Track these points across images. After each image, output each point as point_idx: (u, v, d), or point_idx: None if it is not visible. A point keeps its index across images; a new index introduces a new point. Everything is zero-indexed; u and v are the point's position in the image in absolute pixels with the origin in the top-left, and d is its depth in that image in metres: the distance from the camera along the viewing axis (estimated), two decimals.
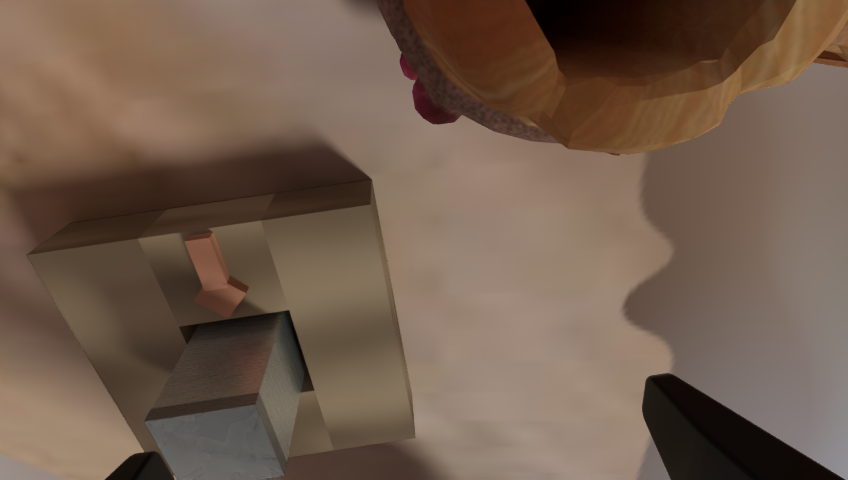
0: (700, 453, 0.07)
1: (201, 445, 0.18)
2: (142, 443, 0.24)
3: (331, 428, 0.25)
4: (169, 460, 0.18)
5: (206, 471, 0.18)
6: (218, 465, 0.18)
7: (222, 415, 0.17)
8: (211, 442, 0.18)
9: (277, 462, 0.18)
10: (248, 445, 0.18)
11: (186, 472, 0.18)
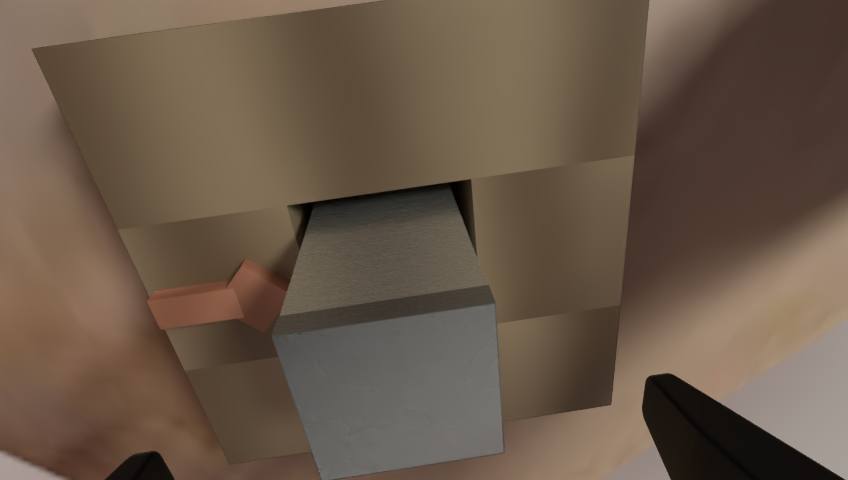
0: (700, 453, 0.07)
1: (384, 421, 0.10)
2: (538, 413, 0.17)
3: (573, 155, 0.13)
4: (418, 462, 0.10)
5: (456, 421, 0.10)
6: (441, 403, 0.09)
7: (304, 386, 0.09)
8: (377, 407, 0.09)
9: (450, 312, 0.08)
10: (391, 356, 0.09)
11: (453, 446, 0.10)
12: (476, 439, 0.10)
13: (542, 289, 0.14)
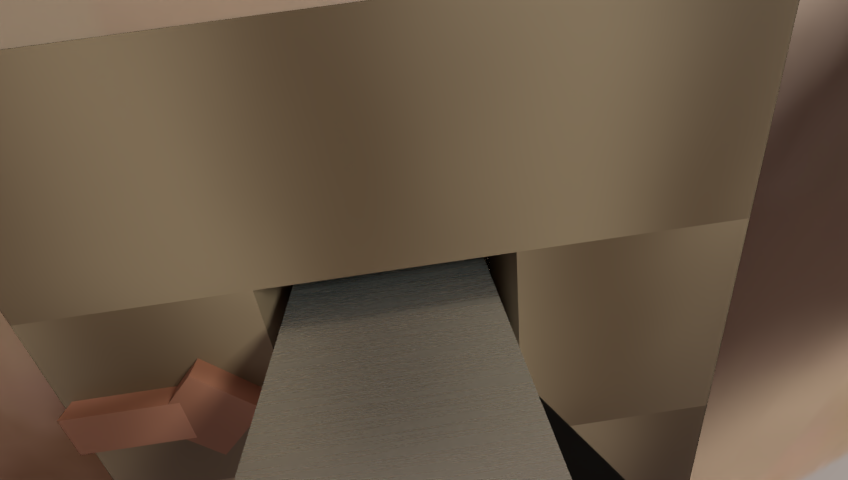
0: None
1: None
2: None
3: (663, 219, 0.09)
4: None
5: None
6: None
7: None
8: None
9: None
10: None
11: None
12: None
13: (605, 388, 0.11)
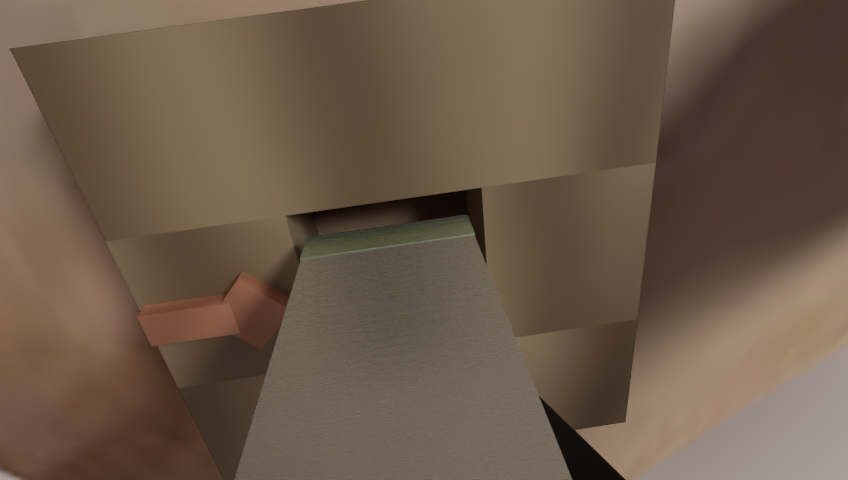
0: None
1: None
2: None
3: (591, 163, 0.12)
4: None
5: None
6: None
7: None
8: None
9: None
10: None
11: None
12: None
13: (555, 303, 0.14)
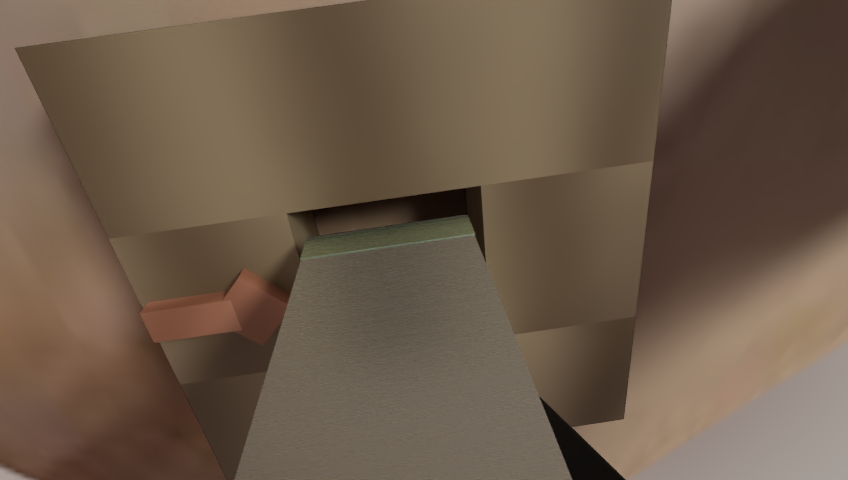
0: None
1: None
2: None
3: (589, 161, 0.12)
4: None
5: None
6: None
7: None
8: None
9: None
10: None
11: None
12: None
13: (554, 300, 0.14)
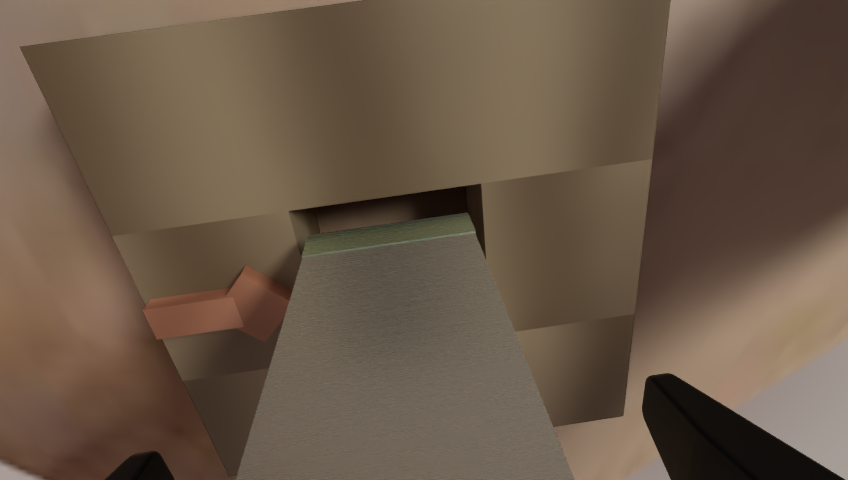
0: (700, 453, 0.07)
1: None
2: None
3: (588, 159, 0.12)
4: None
5: None
6: None
7: None
8: None
9: None
10: None
11: None
12: None
13: (554, 297, 0.14)
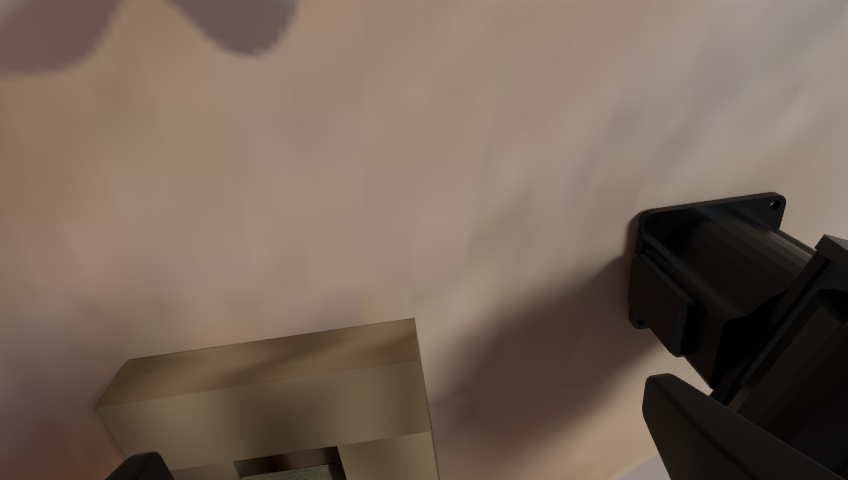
0: (700, 453, 0.07)
1: None
2: None
3: (394, 433, 0.22)
4: None
5: None
6: None
7: None
8: None
9: None
10: None
11: None
12: None
13: None
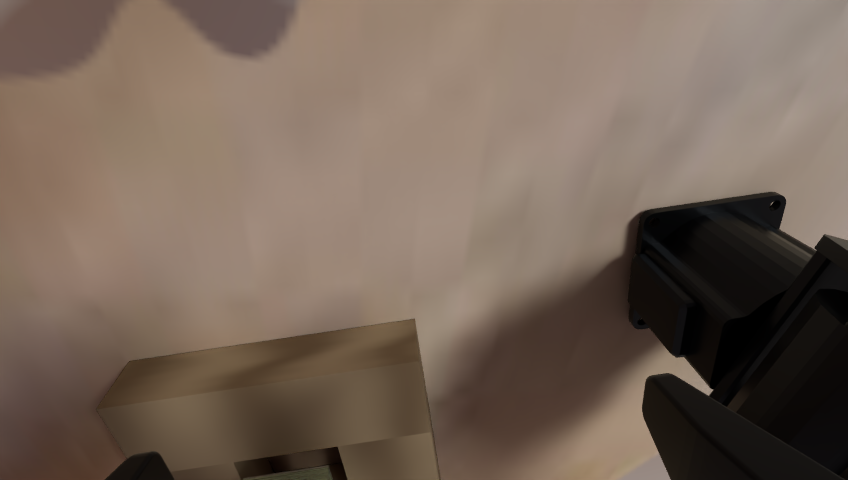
0: (700, 453, 0.07)
1: None
2: None
3: (394, 434, 0.22)
4: None
5: None
6: None
7: None
8: None
9: None
10: None
11: None
12: None
13: None
